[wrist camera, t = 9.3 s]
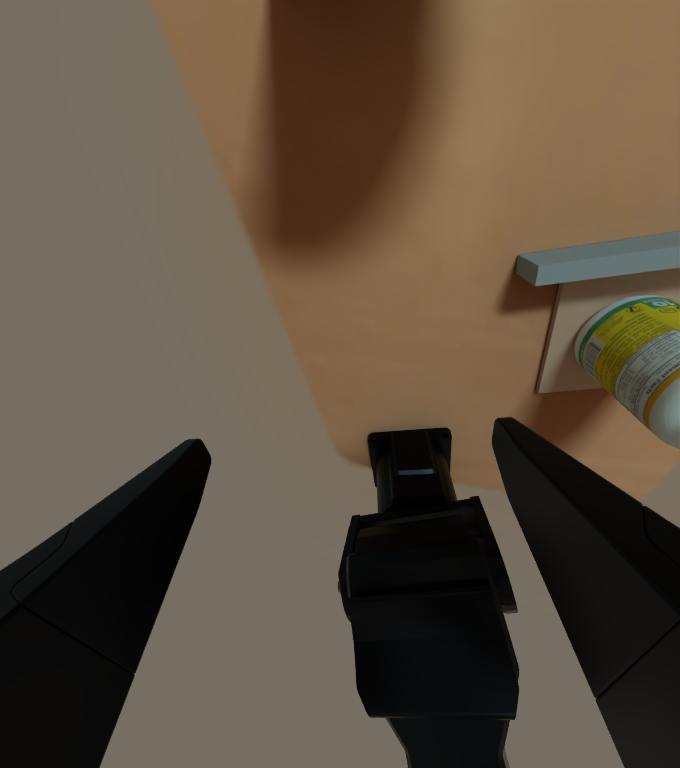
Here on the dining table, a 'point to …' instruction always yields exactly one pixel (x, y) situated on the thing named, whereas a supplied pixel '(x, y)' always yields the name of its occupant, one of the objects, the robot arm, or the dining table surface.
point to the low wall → (601, 259)
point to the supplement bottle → (638, 359)
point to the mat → (578, 308)
